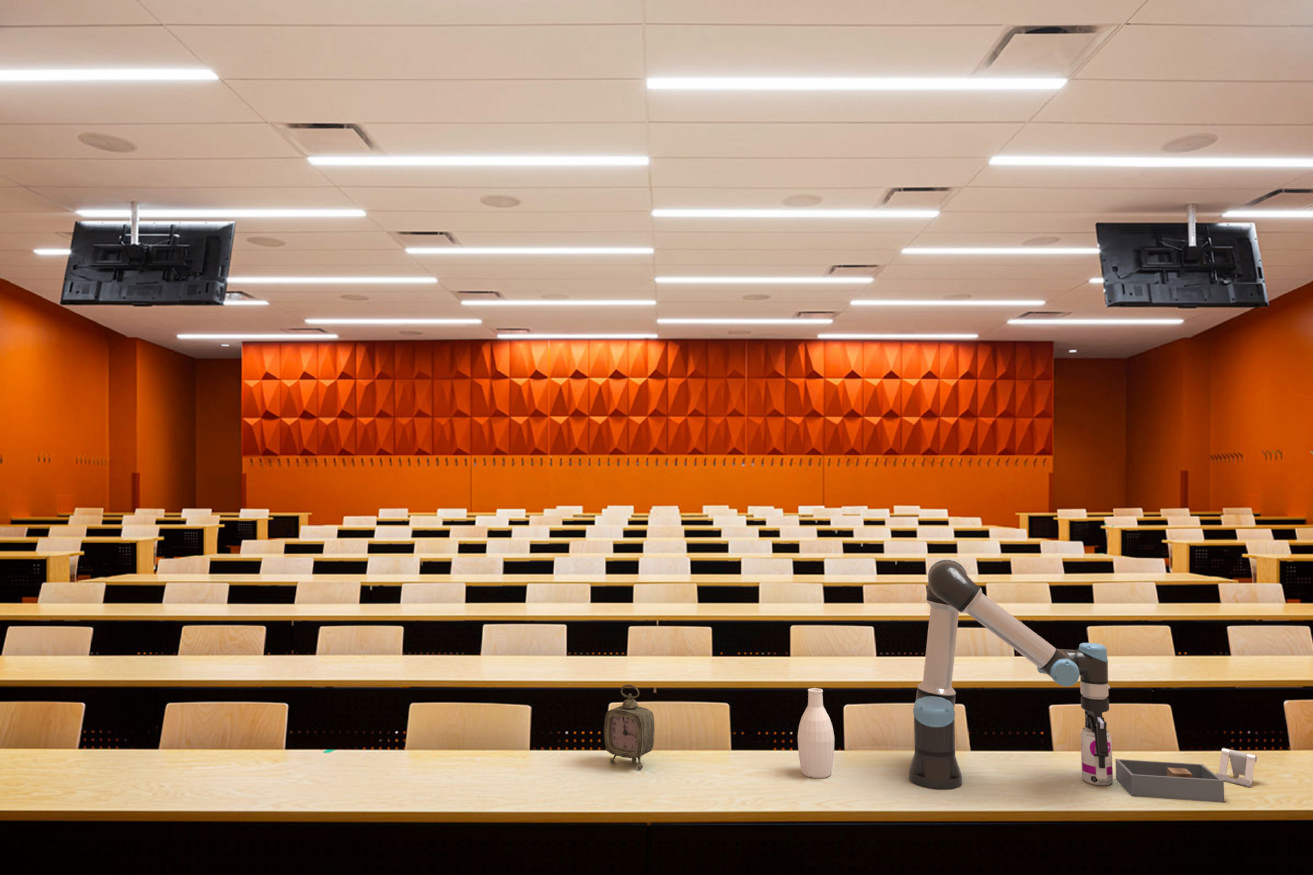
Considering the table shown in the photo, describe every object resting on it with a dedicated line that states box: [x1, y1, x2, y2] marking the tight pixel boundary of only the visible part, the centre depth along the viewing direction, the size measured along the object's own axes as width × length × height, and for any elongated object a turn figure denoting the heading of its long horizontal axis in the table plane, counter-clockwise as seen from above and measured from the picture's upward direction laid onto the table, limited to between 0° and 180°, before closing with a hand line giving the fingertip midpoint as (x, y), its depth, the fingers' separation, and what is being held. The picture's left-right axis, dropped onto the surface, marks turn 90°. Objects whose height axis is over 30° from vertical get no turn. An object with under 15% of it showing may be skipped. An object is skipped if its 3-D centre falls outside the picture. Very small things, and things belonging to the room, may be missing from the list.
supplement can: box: [1080, 726, 1114, 786], centre depth 257 cm, size 8×8×15 cm
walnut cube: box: [1167, 768, 1193, 778], centre depth 248 cm, size 5×5×5 cm
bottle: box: [797, 687, 835, 779], centre depth 265 cm, size 11×11×25 cm
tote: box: [1114, 758, 1225, 803], centre depth 250 cm, size 24×15×6 cm, turn 78°
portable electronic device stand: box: [1215, 747, 1258, 788], centre depth 257 cm, size 9×8×8 cm
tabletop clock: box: [603, 684, 656, 770], centre depth 274 cm, size 14×9×25 cm, turn 58°
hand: (1097, 773), depth 257 cm, fingers closed on supplement can, 8 cm apart
